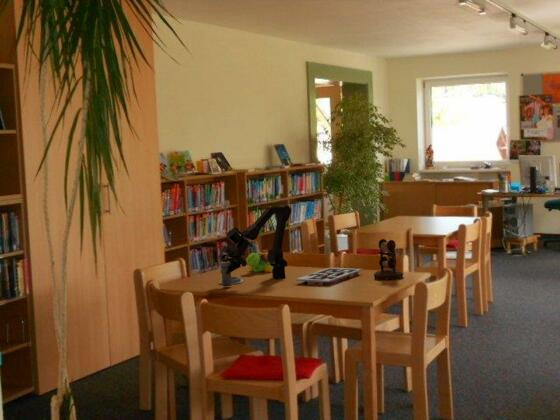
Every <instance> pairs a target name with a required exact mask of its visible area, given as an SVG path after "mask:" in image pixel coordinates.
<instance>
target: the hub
mask: <svg viewBox="0 0 560 420" xmlns="http://www.w3.org/2000/svg"><path fill="white" fill-rule="evenodd" d="M231 281H232V284H234V285H238V283H240V284H243V283H244V282H243V281H244V280H243V279H241V276H231ZM242 282H243V283H242ZM218 284H219V285H221V284H222V280H220V281H219V282H218Z"/></svg>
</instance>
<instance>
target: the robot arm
mask: <svg viewBox="0 0 560 420" xmlns="http://www.w3.org/2000/svg"><path fill="white" fill-rule="evenodd" d="M291 214H292V208H291V207H290V206H289V205H285V204H284V205H283V204H282V205H278V206H267V207H266V208H265V209H264V211H263V212H262V213H261V214H260V215H259V217H258V218H257V219H256V220H255V221H254V223H253V224H251V225H249V226H248V227H246V228H245V229H244V230H243V231H240V230H239V228H238V227H235V226H234V227H233V228H231V229H230V230H229V231H228V232H227V233H226V238H228V240H230V242H232V243H233V244H235V246H234V245H230V246H227V245H222V249H221V254H219V256H218V259H220V261H222V262H231V264H230V266H229V268H228V270H227V272H226V274H229V273H231V274H232V272H234V271H235V270H237V269H240V268H242V267H244V268H245V267H246V266H247V265H248V264H247V261H246V259H245V258H243V257H244V256H246V253H245V252H246V251H247V249H248V248H253V247H254V245H253V242H252V241H256V240H257V238H258V237H259V235H260V233H261V230H262V228H263V227H264V226H265V225H266V223H268V221H269V220H270V219H271V218H272V217H273V216H274V215H275V219H276V226H275V232H274V237H273V244H272V248H270V249H267V250H268V255H267V257H268V261H269V263H270V265H271V266H273V269H272V272H271V273H272V275H271V276H272V278H273V280H275V279H285V278H287V276H286V267H288V262H287V260H286V259H284V252H283V242H284V237H285V232H286V224H287V222H288V221H289V219H290V217H291ZM220 273H221V274H222V272H221V271H220Z"/></svg>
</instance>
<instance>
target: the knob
mask: <svg viewBox="0 0 560 420" xmlns="http://www.w3.org/2000/svg"><path fill="white" fill-rule="evenodd" d="M230 264H231V262H223V261H222V262H220V273H221V272H222V273H221V281H222V285H221V286H222V287H224V288H225V287H232V286H233V285H232V281H231V277H232V272H231V273H229V274H226V272H227V270H228V268H229V266H230Z"/></svg>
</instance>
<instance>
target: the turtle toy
mask: <svg viewBox="0 0 560 420" xmlns="http://www.w3.org/2000/svg"><path fill="white" fill-rule="evenodd" d="M268 250H269V249H262V250H260V252H258V253H256V252H251V253H250V254H249V255H248V256H247V257H246V259H245V260H246V261H247V265H248V270H249V271H250V272H265V273H272V269H273V266H271V265H270V263H269V261H268V257H267V255H268Z"/></svg>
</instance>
